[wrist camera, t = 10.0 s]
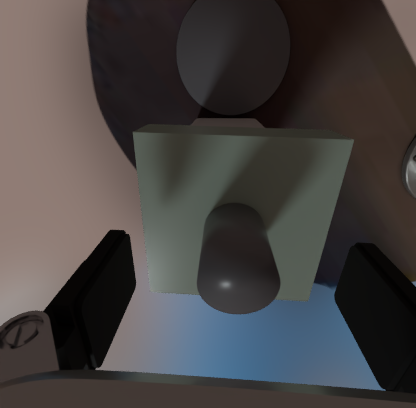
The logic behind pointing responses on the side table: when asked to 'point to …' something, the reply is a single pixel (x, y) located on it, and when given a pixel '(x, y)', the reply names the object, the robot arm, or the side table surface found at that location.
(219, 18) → the mat
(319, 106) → the side table surface
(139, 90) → the side table surface
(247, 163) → the square plate with knob
